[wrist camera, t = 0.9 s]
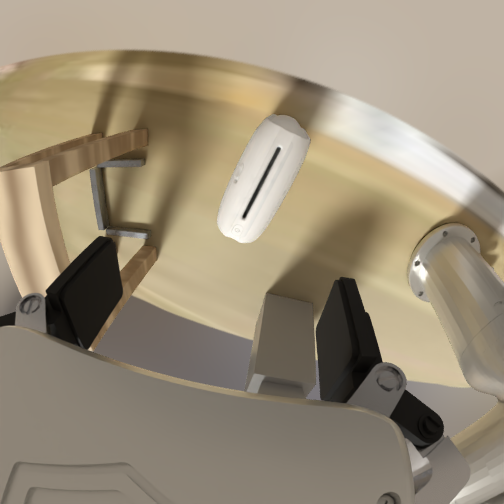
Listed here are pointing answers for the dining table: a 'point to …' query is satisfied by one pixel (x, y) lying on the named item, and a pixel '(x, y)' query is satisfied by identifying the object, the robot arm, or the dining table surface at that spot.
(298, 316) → the beige rectangular block
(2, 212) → the wooden display stand
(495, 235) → the dining table surface
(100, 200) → the seat guides
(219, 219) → the photo printer
